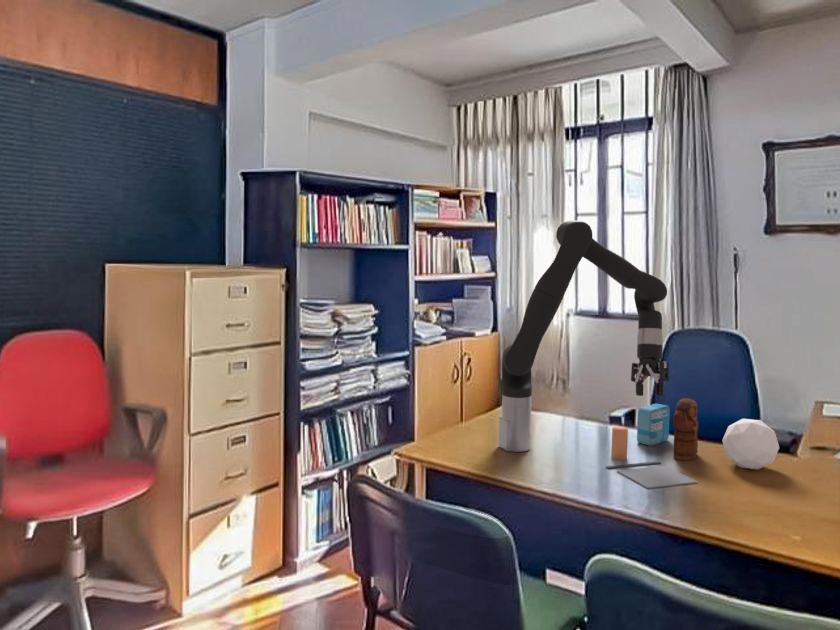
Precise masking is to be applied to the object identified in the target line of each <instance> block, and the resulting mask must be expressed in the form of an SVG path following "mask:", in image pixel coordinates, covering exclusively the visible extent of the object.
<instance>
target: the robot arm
mask: <svg viewBox="0 0 840 630" xmlns="http://www.w3.org/2000/svg"><path fill="white" fill-rule="evenodd" d="M555 235H556V236H555V239H556V241H557V243H558V244H559V245H560V246H559V248H558V250H557V253H556V256H555V258H554V260H553V261H552V263H551V265H549V267H548V268H547V269H546V270H545V271H544V273H543V274H542V276H540V278H539V280H538V281H537V283H536V284H535V287H534V289H533V291H532V292H531V295H530V297H529V300H528V302H527V306H526V308H525V312H524V315H523V319H522V322H521V323H522V324H521V325H520V326H521V327H520V329H519V331H518V333H517V335H516V336H515V339H514V341H513V342H512V344H509V345H508V346H507V347H506V348H505V349H504V351H503V352H502V356H501V357H502V362H501V365H502V366H501V370H502V371H501V390H502V392H501V395H502V397H501V398H502V399H501V416H499V417H498V420H499V421H498V446H499V447H500V448H501V449H502V450H503V451H505V452H519V453H521V452H527V451H529V450H530V449H531V443H532V441H531V438H532V437H531V435H532V434H531V429H532V393H533V392H532V391H533V388H532V387H533V386H532V368H533V366H534V362H535V359H536V356H537V353H538V350H539V348H540V344H541V342H542V339H543V337H544V336H545V334H546V332H547V331H548V328H549V327H550V325H551V323H552V321H553V320H554V318H555V315H556V314H557V312H558V310H559V308H560V306H561V304H562V301H563V298H564V296H565V294H566V292H567V290H568V287H569V285H570V283H571V281H572V278H573V276H574V274H575V272H576V270H577V267H578V266H579V264H580V262H581V261H582V258H584V259H585V260H587V261H589V262H590V263H592V264H593V265H595V267H598V269H600V270H601V271H602V272H604V273H605V274H606V275H607V276H609V277H610V278H611V279H613V280H614V281H616V283H619V285H621V286H623V287H624V288H626V289H629V290H634V295H633V296H634V297H633V299H634V303H635V309H636V312H637V316H638V322H637V323H638V325H637V326H638V328H637V329H638V330H637V340H636V341H637V343H636V357H637V359H638V360H639V362H632V363H631V372H630V373H631V374H630V381H631V382H634V384H635V394H636V396H637V397H638V396H641V397H643V396H644V382H645V381H646V379H648V377H651V378H653V380H654V381H655V385H654V386H655V388H654V394H655V395H654V396H657V397H663V394H664V384H665V383H666V382H667V383H668V382H669V381H670V372H669V371H670V370H669V367H670V366H669V362H668V361H662V360H663V341H664V340H663V336H664V335H663V315H662V313H661V312H660V311H659V310H656V308H655V303H659V302H662V301H664V300H665V299H666V297H667V295H668V288H667V287H666V286H667V285H666V284H665V283H664V282H663V281H662V280H661V279H660V278H658V277H656V276H654V275H652V274H650V273H648V272H646V271H643V270H641V269H639V268H638V267H637V266H635V265H633V264H632V263H631V262H630V261H628V260H627V259H626V258H624V257H622V256H621V255H619V254H617V253H616V252H613V251H612V250H611V249H609V248H606V247H605V246H603V245H602V244H601V243H599V242H598V241H596V240H595V239H594V238H593V229H592V227H591V226H590V225H589V224H588V223H587V222H585V221H582V220H575V219H573V220H572V219H570V220H566V221H564V222H562V223H561V224H560V225H559V226H558V227H557V229H556V233H555Z"/></svg>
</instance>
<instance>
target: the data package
mask: <svg viewBox="0 0 840 630" xmlns="http://www.w3.org/2000/svg"><path fill="white" fill-rule="evenodd" d="M670 413H671V408H670V406H669V405H666V404H660V403H652V404H649V405H645V406H641V407H639V409H638V411H637V427H636V428H637V430H636V431H637V432H636V433H637V435H636V441H637V442H638V444H642V445H647V446H650V447H651V446H655V445H658V444H660V443H664V442H666V441H668V439H669V437H670V435H669V434H670V417H671V415H670Z"/></svg>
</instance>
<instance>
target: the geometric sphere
mask: <svg viewBox="0 0 840 630" xmlns="http://www.w3.org/2000/svg"><path fill="white" fill-rule="evenodd" d="M726 428H727V429H726V431H725V433H724V435H723V438H722V440H721V441H722V444H723V448H724V452H725V456H726V457H727V458H728V459H729V460H731V461H732V463H734V464H735V465H737V466H738V467H739V468H741V469H748V468H749V470H757V471H758V470H760V469H762V468H765V467H767V466H768V465H770V464H772V463H774V460H775V458H776V456H777V454H778V452H779V450H780V445H779V442H778V438H777V435H776V432H775V430H773V429H772V428H771V427H770V426H768V425H767V424H766V423H765V422H763V421H762V420H761V419H751V418H741V419H739V420H737V421H735V422H734V423H731V424H730V425H728V426H727V427H726Z"/></svg>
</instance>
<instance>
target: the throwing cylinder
mask: <svg viewBox="0 0 840 630" xmlns="http://www.w3.org/2000/svg"><path fill="white" fill-rule="evenodd" d="M628 434H629V428H627V427H625V426H612V428H611V449H610V451H611V452H610V458H611V459H612V460H614V461H626V460H628V443H629V441H628V440H629V438H628V437H629V436H628Z"/></svg>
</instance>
